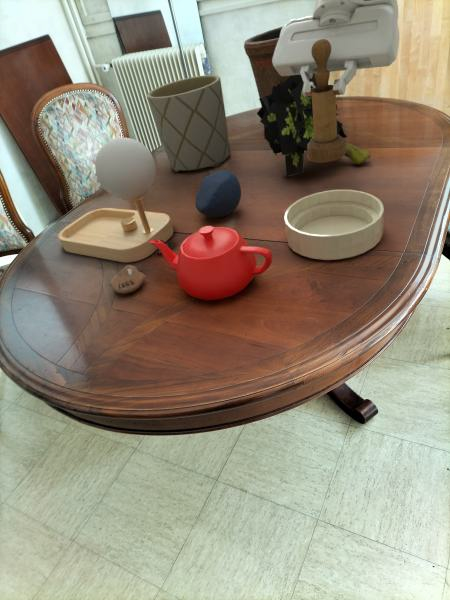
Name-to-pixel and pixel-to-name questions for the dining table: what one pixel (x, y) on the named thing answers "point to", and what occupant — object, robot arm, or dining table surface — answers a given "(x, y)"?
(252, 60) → the clay pot
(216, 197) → the decorative stone
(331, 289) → the dining table surface
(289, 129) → the potted plant
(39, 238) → the dining table surface
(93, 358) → the dining table surface
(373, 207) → the bowl
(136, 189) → the lamp
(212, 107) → the planter
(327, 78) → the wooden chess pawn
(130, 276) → the oil lamp
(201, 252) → the teapot
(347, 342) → the dining table surface
